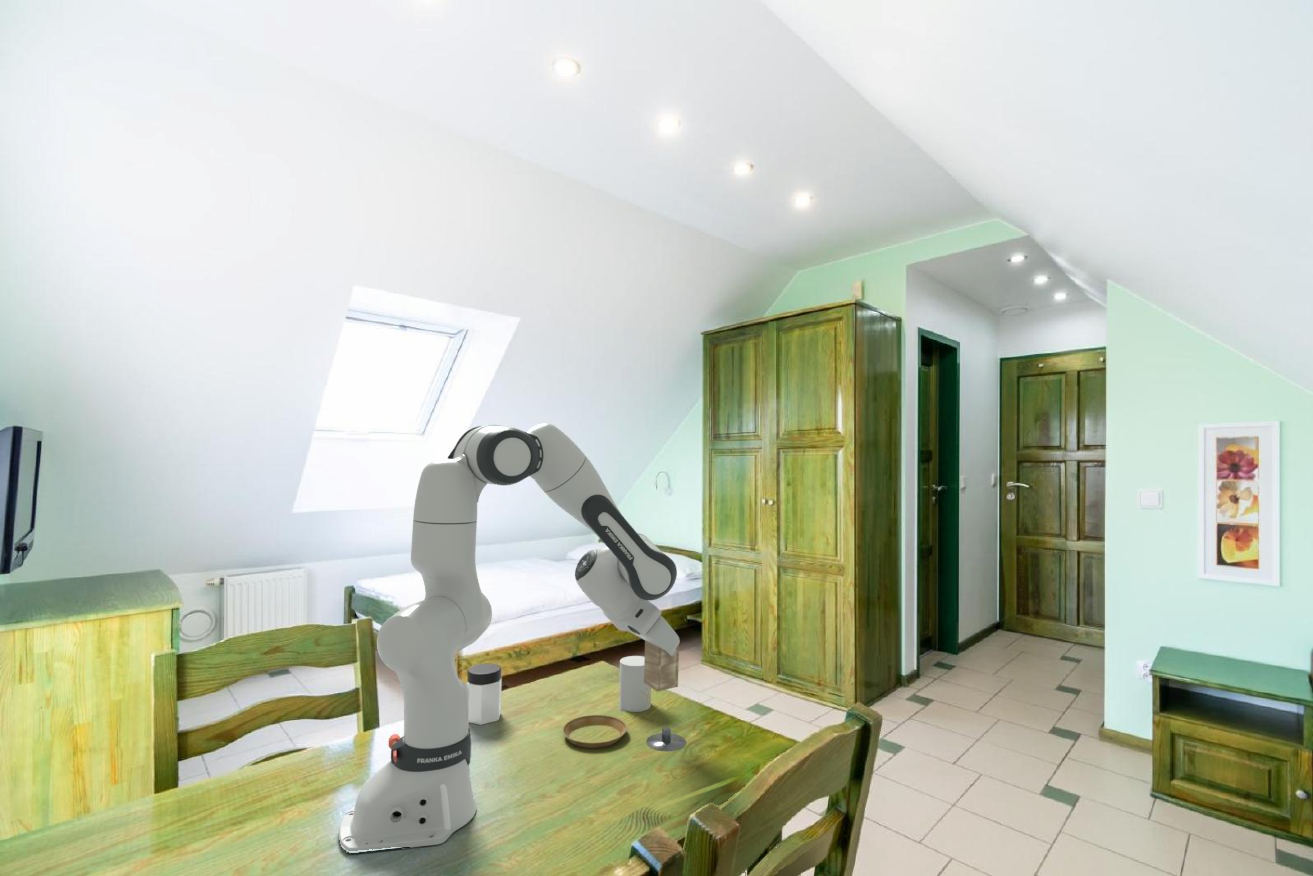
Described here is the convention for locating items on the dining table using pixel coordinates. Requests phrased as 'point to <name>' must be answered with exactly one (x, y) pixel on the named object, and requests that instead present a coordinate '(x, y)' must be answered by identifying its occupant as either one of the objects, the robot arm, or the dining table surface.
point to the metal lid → (666, 741)
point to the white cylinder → (633, 685)
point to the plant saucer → (594, 720)
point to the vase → (660, 668)
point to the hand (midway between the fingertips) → (663, 648)
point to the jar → (484, 693)
